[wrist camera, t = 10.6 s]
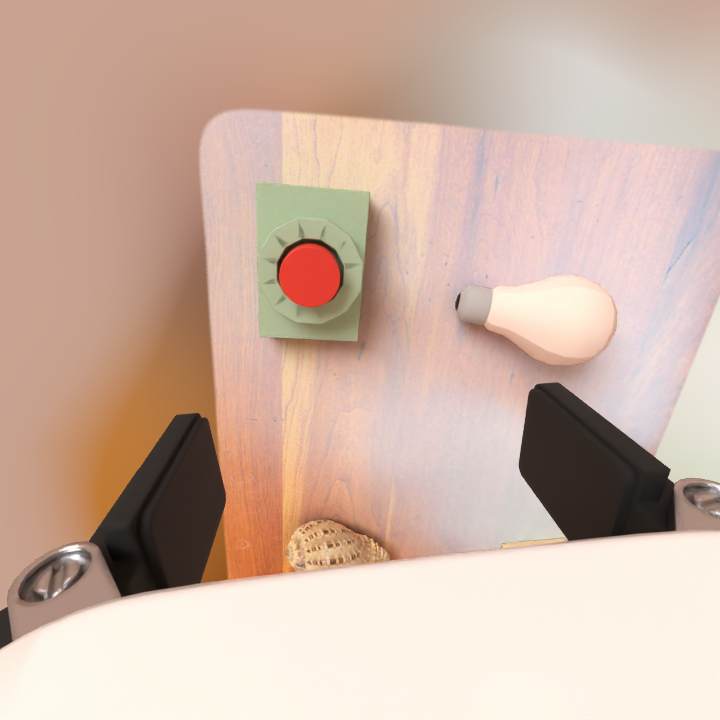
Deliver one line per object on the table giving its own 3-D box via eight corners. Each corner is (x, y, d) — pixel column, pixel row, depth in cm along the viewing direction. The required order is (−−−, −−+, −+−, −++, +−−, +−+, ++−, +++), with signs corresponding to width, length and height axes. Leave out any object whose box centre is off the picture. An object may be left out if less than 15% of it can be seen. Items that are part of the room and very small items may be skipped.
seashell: (371, 489, 40) (278, 518, 34) (405, 532, 35) (304, 572, 30) (361, 544, 42) (274, 578, 37) (391, 590, 38) (297, 636, 33)
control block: (261, 183, 25) (250, 180, 21) (366, 192, 26) (373, 191, 22) (263, 327, 29) (255, 346, 25) (355, 332, 30) (359, 350, 26)
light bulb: (448, 349, 26) (620, 384, 24) (471, 250, 24) (653, 280, 23) (443, 339, 32) (578, 366, 31) (460, 260, 31) (602, 284, 30)
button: (282, 240, 23) (278, 244, 22) (341, 245, 24) (342, 248, 22) (281, 298, 25) (278, 305, 23) (337, 302, 25) (338, 309, 23)
